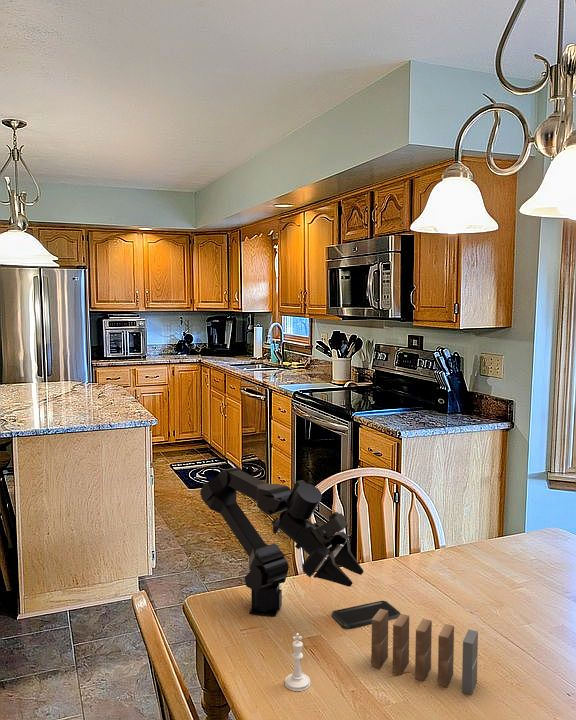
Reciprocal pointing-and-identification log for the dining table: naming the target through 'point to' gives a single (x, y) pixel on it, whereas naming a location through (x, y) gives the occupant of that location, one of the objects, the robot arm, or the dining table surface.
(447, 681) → the domino
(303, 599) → the dining table surface
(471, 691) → the domino
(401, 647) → the domino
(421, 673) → the domino
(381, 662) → the domino
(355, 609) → the phone
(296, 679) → the chess piece
